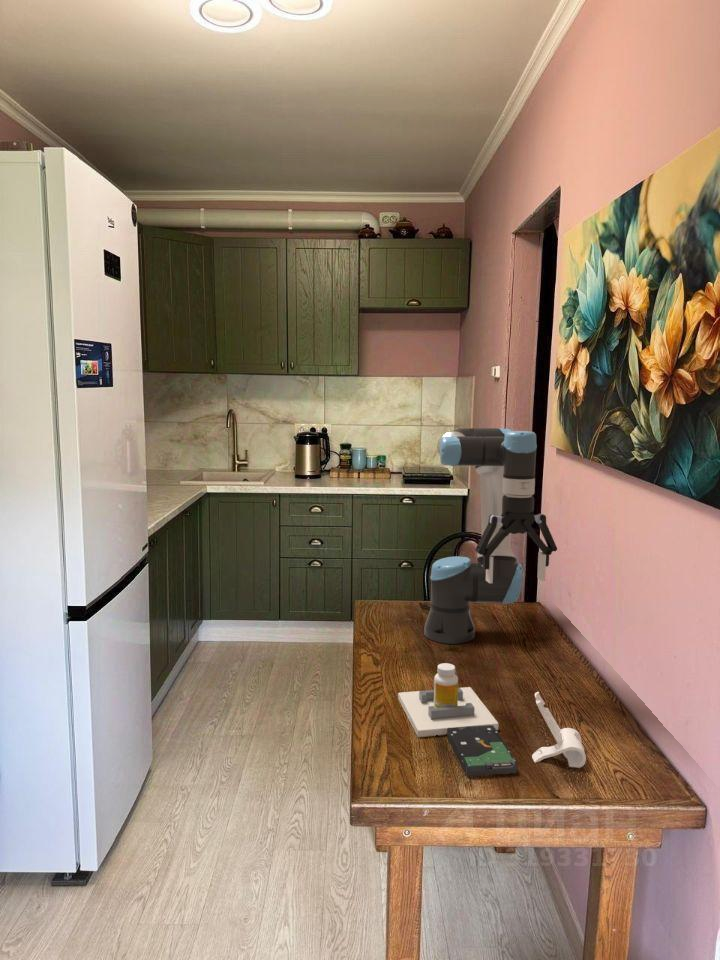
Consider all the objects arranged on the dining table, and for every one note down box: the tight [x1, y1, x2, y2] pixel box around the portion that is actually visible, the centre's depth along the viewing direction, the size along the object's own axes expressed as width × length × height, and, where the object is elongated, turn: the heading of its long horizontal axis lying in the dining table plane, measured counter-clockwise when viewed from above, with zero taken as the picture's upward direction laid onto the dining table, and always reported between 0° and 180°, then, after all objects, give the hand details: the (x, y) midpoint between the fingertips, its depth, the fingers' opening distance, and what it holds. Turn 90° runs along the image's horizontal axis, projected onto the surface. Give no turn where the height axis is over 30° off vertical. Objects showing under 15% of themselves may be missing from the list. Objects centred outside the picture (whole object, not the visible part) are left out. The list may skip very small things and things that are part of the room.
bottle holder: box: [397, 686, 499, 738], centre depth 150 cm, size 18×18×4 cm
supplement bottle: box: [433, 662, 459, 708], centre depth 149 cm, size 5×5×10 cm
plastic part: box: [531, 691, 587, 769], centre depth 132 cm, size 8×10×12 cm
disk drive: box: [446, 725, 518, 778], centre depth 133 cm, size 10×3×15 cm
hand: (515, 580), depth 162 cm, fingers open, 13 cm apart
